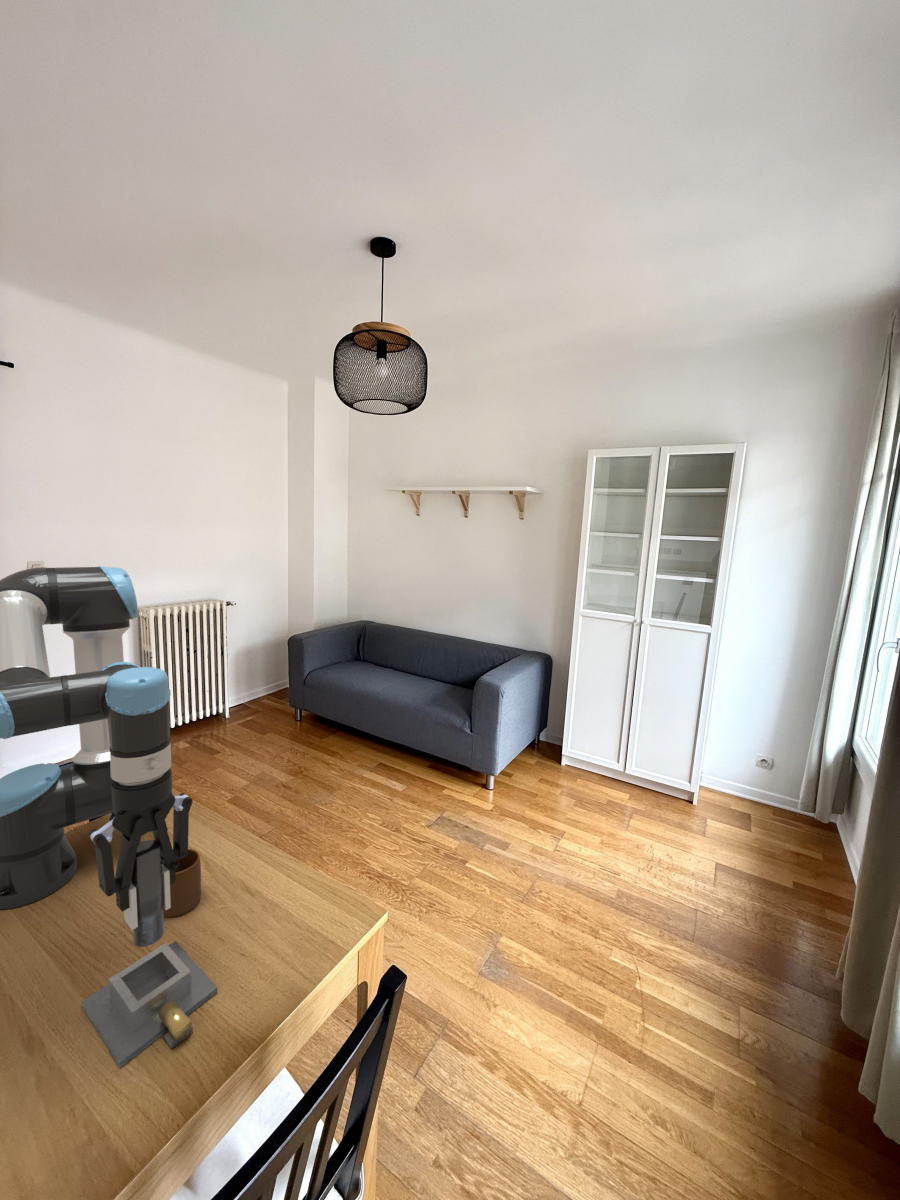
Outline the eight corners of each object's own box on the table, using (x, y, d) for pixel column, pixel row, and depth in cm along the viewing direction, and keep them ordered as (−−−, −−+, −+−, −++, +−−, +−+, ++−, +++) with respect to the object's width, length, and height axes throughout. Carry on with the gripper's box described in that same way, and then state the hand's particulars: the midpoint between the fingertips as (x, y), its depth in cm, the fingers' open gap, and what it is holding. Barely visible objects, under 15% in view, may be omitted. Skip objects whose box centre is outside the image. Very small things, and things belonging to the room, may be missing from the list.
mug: (131, 935, 87) (128, 889, 86) (130, 906, 93) (128, 863, 92) (203, 908, 94) (202, 865, 93) (198, 883, 100) (197, 843, 99)
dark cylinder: (129, 937, 74) (124, 849, 71) (156, 920, 77) (153, 836, 75) (140, 951, 71) (136, 861, 69) (168, 934, 75) (165, 847, 72)
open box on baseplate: (82, 1006, 74) (80, 981, 74) (175, 945, 86) (175, 923, 85) (130, 1086, 64) (129, 1058, 64) (229, 1005, 76) (228, 981, 75)
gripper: (82, 808, 61) (92, 967, 65) (212, 760, 75) (214, 893, 78) (61, 787, 65) (72, 937, 69) (188, 746, 79) (191, 872, 83)
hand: (148, 913), depth 74 cm, fingers closed on dark cylinder, 4 cm apart
